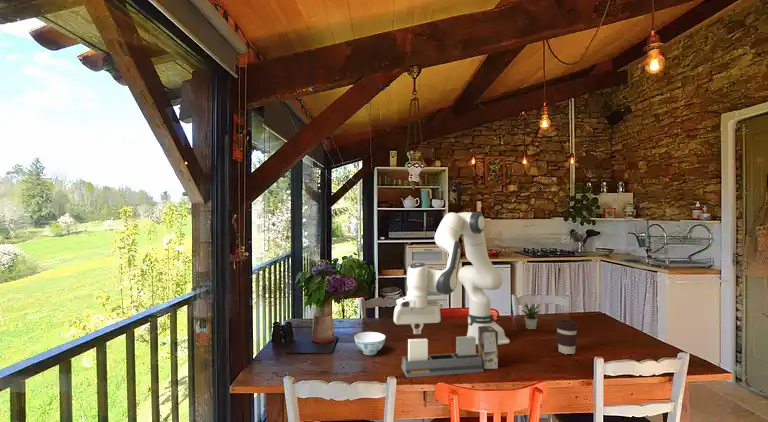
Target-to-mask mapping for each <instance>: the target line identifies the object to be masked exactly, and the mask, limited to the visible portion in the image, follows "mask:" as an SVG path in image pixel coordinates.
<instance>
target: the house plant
mask: <svg viewBox="0 0 768 422" xmlns="http://www.w3.org/2000/svg"><path fill="white" fill-rule="evenodd" d="M534 304H535V303H533V302H530V305H531V306H530V307H529V304H528V303H527V302H526V301H525V302H524V304H523V305H521V306H522V307H521V308H523V309H522V310H521V312H522V313H524V323H525V328H526V329H527V328H528V329H527V330H530V329H535V330H536V329H537V322H538V317H540V312H541V311H540V310H538V308H539V307H540V306H541V305H542V304H541V303H540V304H537V306H536V307H535V308H534ZM537 316H538V317H537Z"/></svg>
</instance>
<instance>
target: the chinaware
mask: <svg viewBox="0 0 768 422" xmlns="http://www.w3.org/2000/svg"><path fill="white" fill-rule="evenodd" d="M385 341H386V335H385V334H383V333H381V332H378V331H377V332H376V331H365V332H359V333H357V334H355V335H354V342H355V345H356V346H357V348H358V349H359V350H360V351H361V352H362V354H363V355H366V356H374V355H376V354H377V353H378V351H379V350H381V349H382V348H383V346H384V344H385V343H386V342H385Z"/></svg>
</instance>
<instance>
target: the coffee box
mask: <svg viewBox="0 0 768 422" xmlns="http://www.w3.org/2000/svg"><path fill="white" fill-rule="evenodd" d="M498 350H499V345H498V332H497V331H496V330H495V329H494V328H492V327H491V326H478V344H477V354H478V355H480V356H481V357H482V367H483V370H487V369H488V370H489V369H495V370H496V369H498V368H499V367H498V366H499V364H498V363H499V351H498Z"/></svg>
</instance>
